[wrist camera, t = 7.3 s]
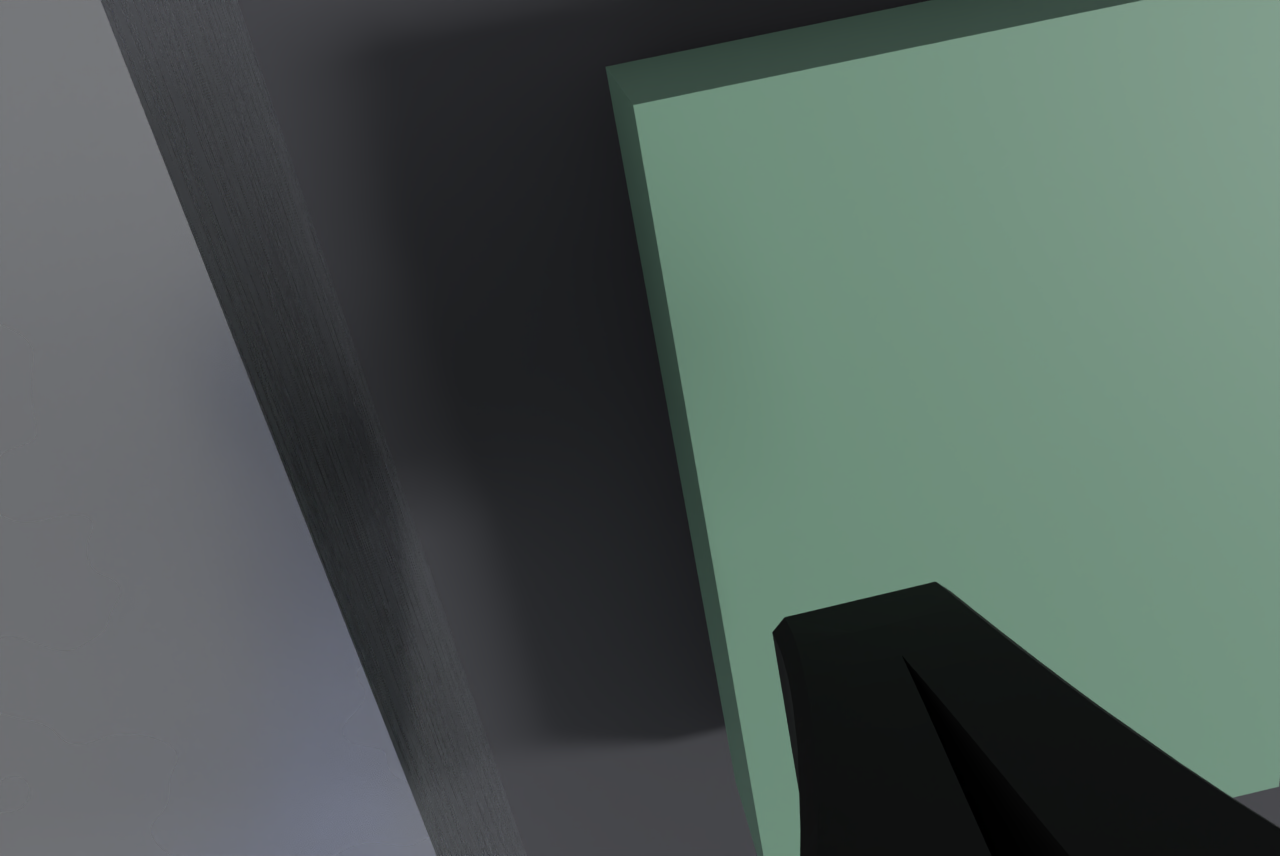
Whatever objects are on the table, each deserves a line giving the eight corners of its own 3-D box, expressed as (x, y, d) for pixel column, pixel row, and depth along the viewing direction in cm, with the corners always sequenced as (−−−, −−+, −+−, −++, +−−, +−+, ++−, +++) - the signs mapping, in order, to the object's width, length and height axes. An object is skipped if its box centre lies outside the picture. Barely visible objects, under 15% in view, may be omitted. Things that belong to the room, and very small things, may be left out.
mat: (1309, 846, 18) (1321, 861, 18) (587, 1024, 18) (589, 1041, 18) (1546, -901, 9) (1577, -924, 9) (41, -599, 9) (29, -615, 8)
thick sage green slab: (772, 907, 13) (724, 743, 15) (1278, 786, 13) (1151, 644, 15) (633, 105, 9) (598, 56, 11) (1375, -49, 9) (1182, -64, 11)
